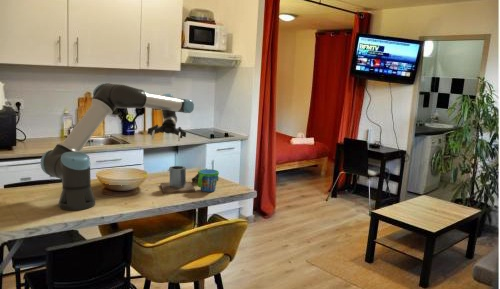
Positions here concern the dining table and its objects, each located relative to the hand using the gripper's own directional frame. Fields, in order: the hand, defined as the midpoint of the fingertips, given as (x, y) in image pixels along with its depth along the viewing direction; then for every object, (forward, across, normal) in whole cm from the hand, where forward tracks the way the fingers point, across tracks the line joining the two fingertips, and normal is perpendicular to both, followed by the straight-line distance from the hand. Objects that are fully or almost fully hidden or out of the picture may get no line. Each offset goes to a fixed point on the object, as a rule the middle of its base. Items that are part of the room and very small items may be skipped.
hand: (165, 137), depth 215 cm
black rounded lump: (-4, -21, -26) cm, 34 cm away
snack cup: (+12, -24, -23) cm, 35 cm away
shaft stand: (+9, -8, -24) cm, 27 cm away
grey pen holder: (+8, -8, -23) cm, 26 cm away
